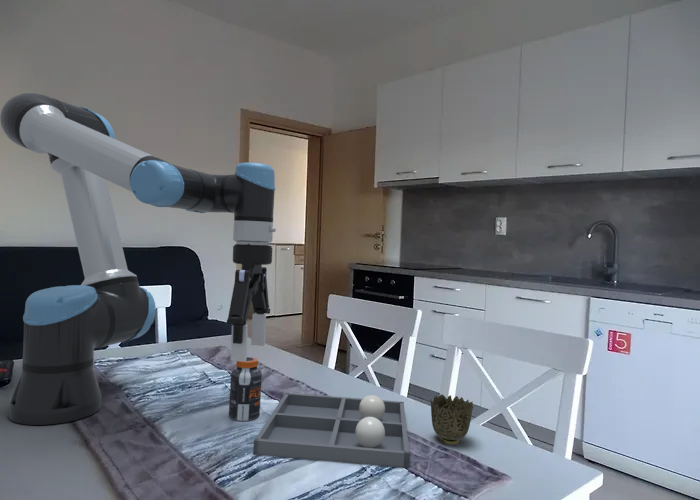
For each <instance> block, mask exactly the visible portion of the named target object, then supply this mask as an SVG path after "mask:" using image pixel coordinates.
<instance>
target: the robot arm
mask: <svg viewBox="0 0 700 500" xmlns="http://www.w3.org/2000/svg"><path fill="white" fill-rule="evenodd" d="M0 124H1V128H2V130H3V132H4V134H5V135H6V137H8V138H9V139H10V141H12V142H13V143H14V144H15V145H18V146H20V147H22V148H25V149H27V150H30V151H31V152H34V153H37V154H47V155H48V159H49V163H50V166H51V167H50V168H51V169H52V170H53V171H54V172H56V173H57V174H60V176H61V180H62V183H63V184H62V185H63V187H64V193H65V197H66V198H65V199H66V202H67V205H68V211H69V214H70V220H71V223H72V228H73V233H74V237H75V241H76V246H77V249H78V254H79V259H80V263H81V267H82V273H83V276H84V280H83V281H82V282H81V284H80V285H79V284H77V285H75V284H73V285H72V284H71V285H65V286H62V285H60V286H52V287H49V288H48V287H47V288H44V289H40V290H37V291H35V292H33V293H31V294H30V295H29V296H28V297H27V299H26V301H25V308H24V313H23V315H22V321H23V343H22V344H23V346H22V365H21V366H22V367H21V369H22V370H21V375H20V378H19V379H18V382H17V385H16V387H15V390H14V392H13V395H12V398H11V400H10V402H9V405H8V419H9V420H10V421H12V422H14V423H17V424H21V425H28V426H29V425H30V426H43V425H45V426H46V425H55V424H57V425H58V424H64V423H68V422H74V421H77V420H80V419H84V418H87V417H89V416H91V415H93V414H96V413H97V412H98V411H99V410H100V409H101V408H102V402H103V400H102V398H103V396H102V391H101V390H100V385H99V382H98V379H97V376H96V373H95V369H94V355H95V352H94V351H95V349H98V348H99V349H100V348H103V347H107V346H111V345H116V344H120V343H121V344H123V343H127V342H130V341H132V340H134V339H138V338H140V337H142V336H144V335H145V334H146V333H147V332H148V331H149V330H150V329H151V326H152V324H153V323H154V321H155V318H156V302H155V299H154V296H153V295H152V293H151V291H148V290H147V289H146V288H144V287H141V286H140V284H139V279H138V277H137V274H135V273H133V272H132V271H130V270H129V269H128V265H127V261H126V257H125V252H124V249H123V243H122V241H121V237H120V231H119V227H118V223H117V219H116V214H115V210H114V206H113V202H112V198H111V193H110V189H109V184H108V181H109V182H111V183H113V184H115V185H116V186H118V187H121V188H123V189H126V190H127V191H129V192H132V193H133V195H134V196H135V198H136V200H138V201H140V202H141V203H142V204H143V203H144V204H146V205H150V206H154V207H157V208H171V209H181V210H185V211H187V212H191V213H199V214H205V213H232V214H233V215H234V216H233V217H234V219H233V231H232V233H233V234H232V236H233V237H232V240H233V242H236V244H234V245H233V246H232V262H233V263H234V264H236V265H237V264H238V265H241V269H236V270H235V272H234V285H233V289H232V294H231V299H230V300H231V301H230V306H229V311H228V314H227V315H228V317H227V319H226V325H227V326H231V338H230V361H231V362H232V361H233V362H237V361H246V357H248V356H247V355H248V352H247V351H248V327H249V326H248V324H247V321H248V316H249V312H250V308H251V303H252V308H253V312H254V313H252V316H251V318H252V319H251V344H250V345H251V346H258V347H259V346H263V347H265V345H266V327H267V326H266V324H267V323H266V322H267V314H268V315H269V314H270V313H271V308H270V301H269V291H268V281H267V280H268V279H267V267H266V266H264V267H263V265H267V266H268V265H271V264H272V262H273V247H272V245H270V243H272V242H273V235H274V234H273V233H275V232H276V231H277V229H276V227H274V208H275V207H274V206H275V204H274V203H275V193H276V192H275V191H276V185H275V181H276V179H275V170H274V168H273V167H272V166H271V165H269V164H267V163H266V164H265V163H261V162H240V163H238V164H237V165H236V167H235V171H234V173H233V174H210V173H206V172H202V171H199V170H195V169H192V168H191V169H190V168H186V167H182V166H179V165H175V164H173V163H170V162H168V161H166V160H164V159H162V158H159V157H157V156H154V155H152V154H151V153H147V152H146V151H144V150H141V149H139V148H135V147H134V146H132V145H130V144H127V143H125V142H122V141H120V140H118V139H116V136H115V132H114V129H113V127H112V125H111V124H110V122H109V120H107V119H106V118H105V117H104V116H102V115H101V114H99V113H97V112H95V111H93V110H91V109H89V108H86V107H81V106H76V105H74V104H71V103H67V102H64V101H62V100H59V99H56V98H53V97H50V96H48V95H45V94H42V93H36V92H35V93H32V92H31V93H30V92H29V93H21V94H17V95H15V96H12V97H11V98H9V100H7V101H6V102H5V104H4V105H3V107H2V108H1V112H0Z"/></svg>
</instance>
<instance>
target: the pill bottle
mask: <svg viewBox="0 0 700 500" xmlns="http://www.w3.org/2000/svg"><path fill="white" fill-rule="evenodd" d="M235 366H236V368H235V369H232V371H231V373H230V386H229V387H230V388H229V402H228V403H229V404H228V417H229V418H231V419H232V420H233V421H238V422H239V421H240V422H249V421H252V420H256V419H257V418H259V416H260V413H261V397H262V396H261V395H262V377H263V375H262V371H261V370H260V369H259V368H258V358H255V357H252V356H250V357H248V356H247V357H246V361H236V365H235Z"/></svg>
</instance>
